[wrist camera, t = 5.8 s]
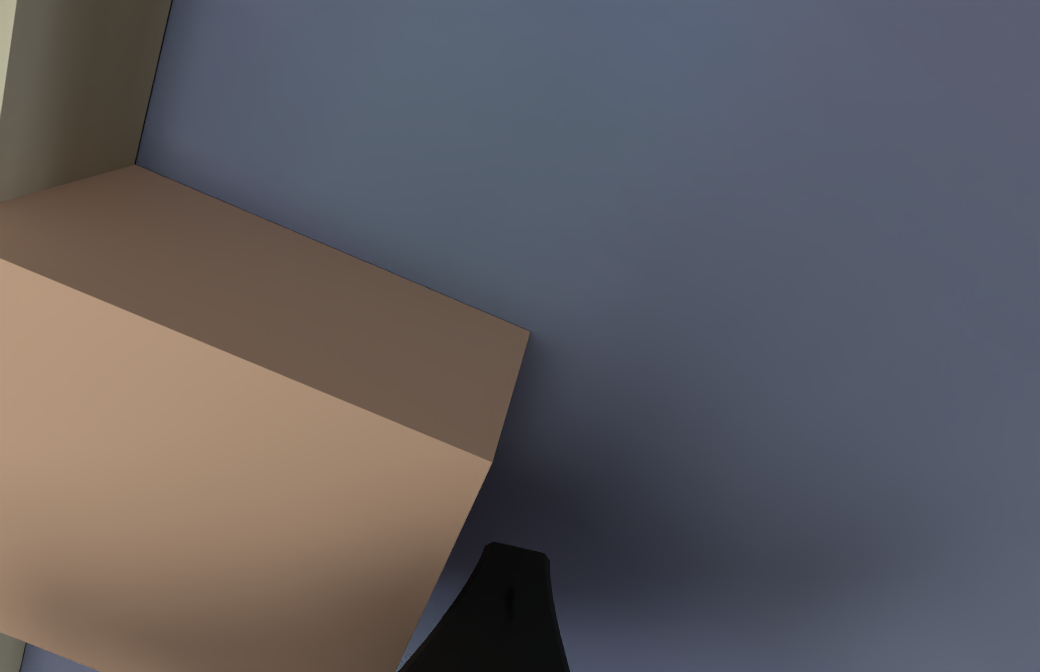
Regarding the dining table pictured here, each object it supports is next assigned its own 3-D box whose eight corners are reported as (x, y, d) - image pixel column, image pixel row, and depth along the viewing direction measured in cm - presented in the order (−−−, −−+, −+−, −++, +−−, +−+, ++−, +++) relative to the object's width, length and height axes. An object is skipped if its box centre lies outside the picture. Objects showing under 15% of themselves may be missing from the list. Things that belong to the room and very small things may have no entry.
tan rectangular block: (530, 331, 12) (492, 462, 8) (417, 583, 15) (349, 769, 11) (135, 164, 12) (-81, 224, 8) (86, 449, 14) (-96, 593, 11)
